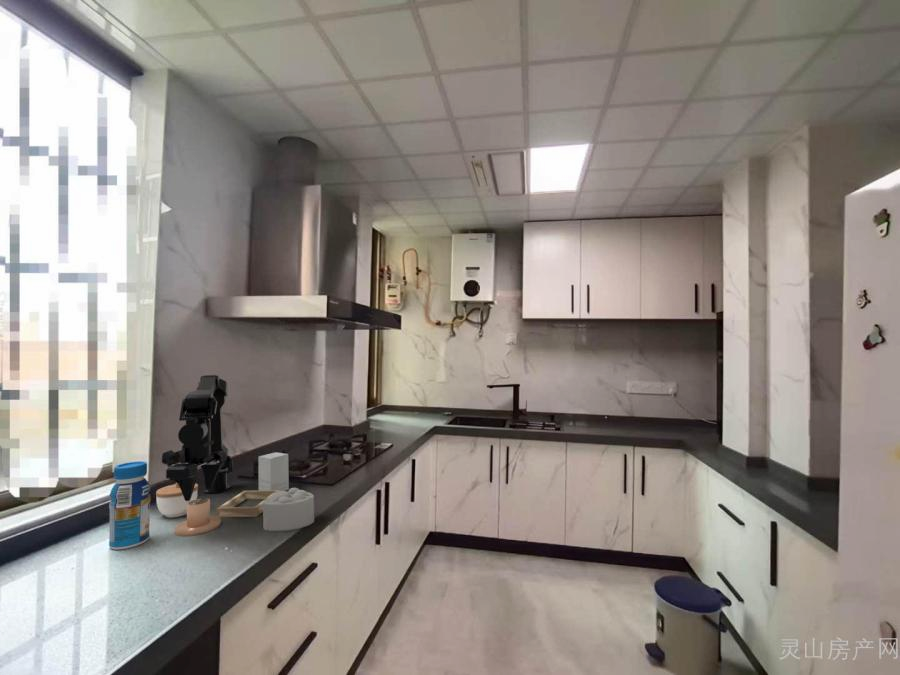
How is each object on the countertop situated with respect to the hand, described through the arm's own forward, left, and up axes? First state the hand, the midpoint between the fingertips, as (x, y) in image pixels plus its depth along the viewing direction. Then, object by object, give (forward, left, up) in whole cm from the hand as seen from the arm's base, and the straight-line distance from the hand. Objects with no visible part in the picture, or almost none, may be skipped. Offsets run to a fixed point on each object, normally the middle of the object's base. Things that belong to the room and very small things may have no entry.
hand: (198, 494), depth 113 cm
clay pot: (0, 0, -8) cm, 8 cm away
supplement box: (-30, +8, -9) cm, 32 cm away
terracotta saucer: (0, 0, -9) cm, 9 cm away
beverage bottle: (+9, -12, -9) cm, 18 cm away
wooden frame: (-15, +7, -9) cm, 19 cm away
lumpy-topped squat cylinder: (-2, +25, -9) cm, 27 cm away
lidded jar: (-11, -13, -9) cm, 19 cm away
